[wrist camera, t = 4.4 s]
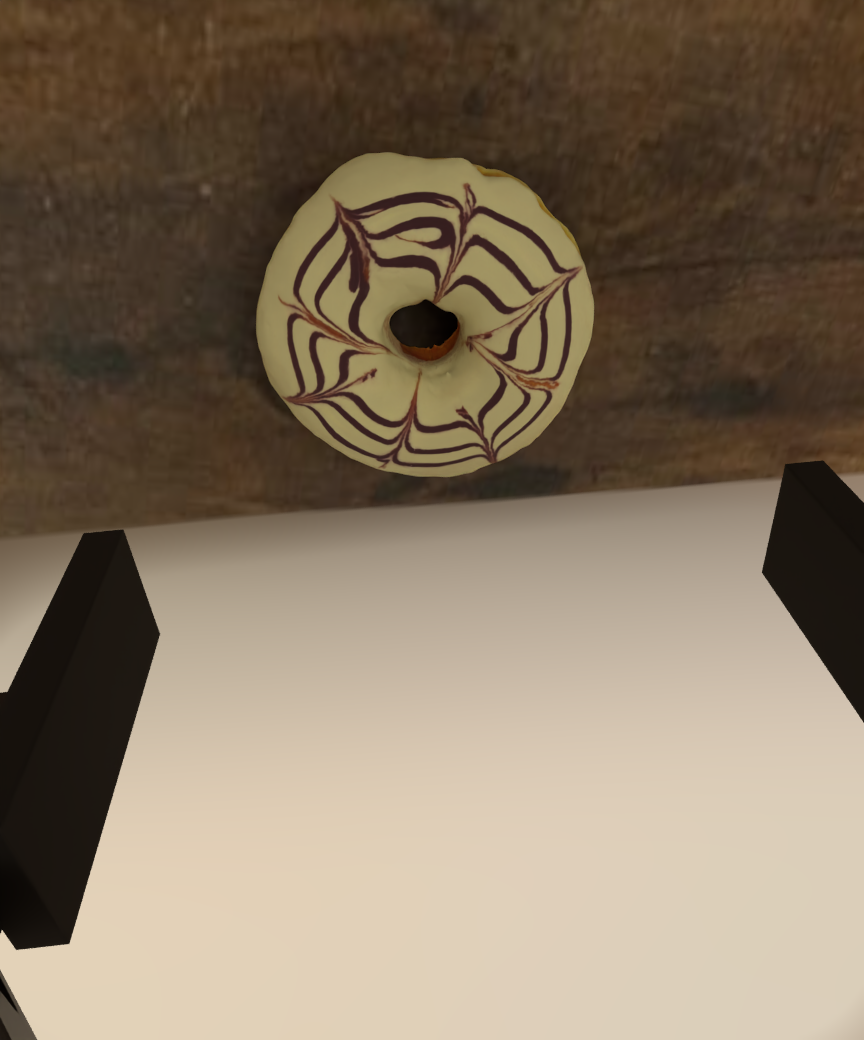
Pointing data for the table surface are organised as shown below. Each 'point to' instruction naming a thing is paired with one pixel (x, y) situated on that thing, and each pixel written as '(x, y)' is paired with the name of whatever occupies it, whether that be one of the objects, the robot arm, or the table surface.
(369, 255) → the decorated donut
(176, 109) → the table surface
